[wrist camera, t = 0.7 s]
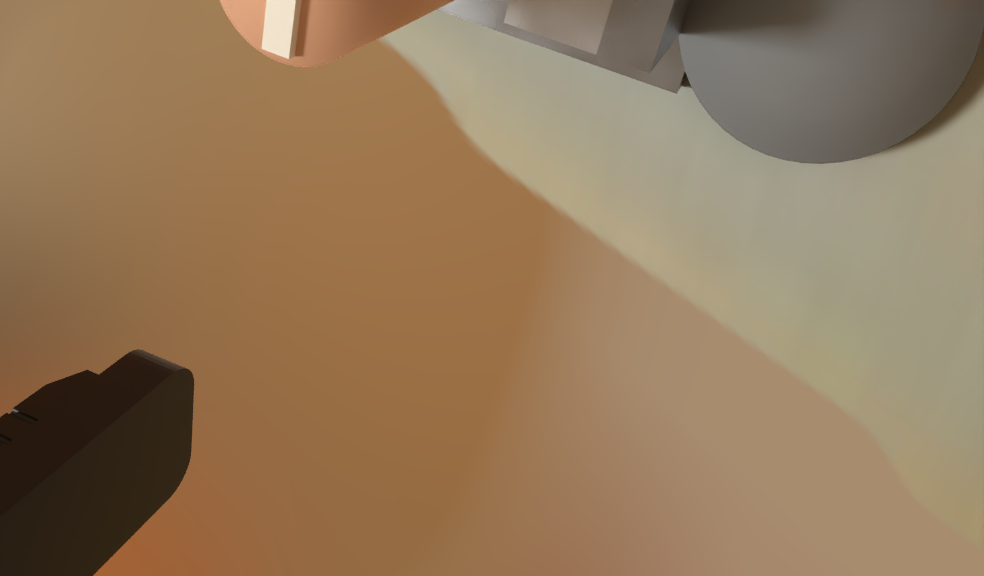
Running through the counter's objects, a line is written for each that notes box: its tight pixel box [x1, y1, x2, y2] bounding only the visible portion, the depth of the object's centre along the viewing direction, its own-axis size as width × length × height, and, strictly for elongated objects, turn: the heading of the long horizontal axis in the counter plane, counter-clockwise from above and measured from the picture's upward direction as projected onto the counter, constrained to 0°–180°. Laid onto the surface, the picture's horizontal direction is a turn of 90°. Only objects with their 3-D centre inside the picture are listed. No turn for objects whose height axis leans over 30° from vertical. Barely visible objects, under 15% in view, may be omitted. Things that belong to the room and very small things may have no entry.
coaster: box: [679, 0, 984, 164], centre depth 33 cm, size 10×10×1 cm
